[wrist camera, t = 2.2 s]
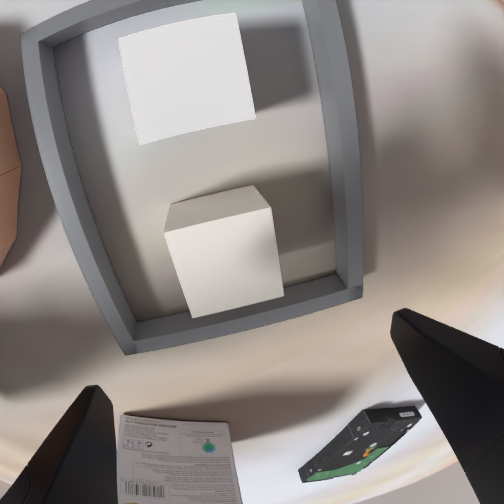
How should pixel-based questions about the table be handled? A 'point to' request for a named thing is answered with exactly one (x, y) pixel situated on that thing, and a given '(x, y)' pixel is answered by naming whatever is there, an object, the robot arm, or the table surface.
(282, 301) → the parts tray
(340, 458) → the disk drive
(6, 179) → the bowl
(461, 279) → the table surface
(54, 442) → the robot arm
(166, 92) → the pale grey cubic block
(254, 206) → the white matte cube
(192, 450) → the ink cartridge box
